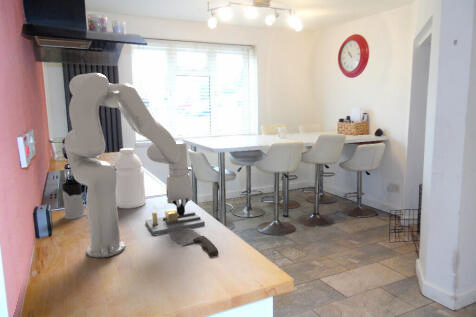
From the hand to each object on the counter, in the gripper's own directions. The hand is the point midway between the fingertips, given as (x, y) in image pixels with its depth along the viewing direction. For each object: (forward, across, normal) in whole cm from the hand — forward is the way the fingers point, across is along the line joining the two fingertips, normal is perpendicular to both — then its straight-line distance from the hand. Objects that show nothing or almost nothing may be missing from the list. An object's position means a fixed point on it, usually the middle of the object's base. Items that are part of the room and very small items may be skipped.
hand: (181, 215), depth 145 cm
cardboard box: (+2, +4, 0) cm, 4 cm away
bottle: (+4, +14, -38) cm, 41 cm away
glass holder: (+4, +37, -35) cm, 51 cm away
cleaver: (+4, +2, +20) cm, 21 cm away
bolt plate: (+4, +3, 0) cm, 5 cm away
